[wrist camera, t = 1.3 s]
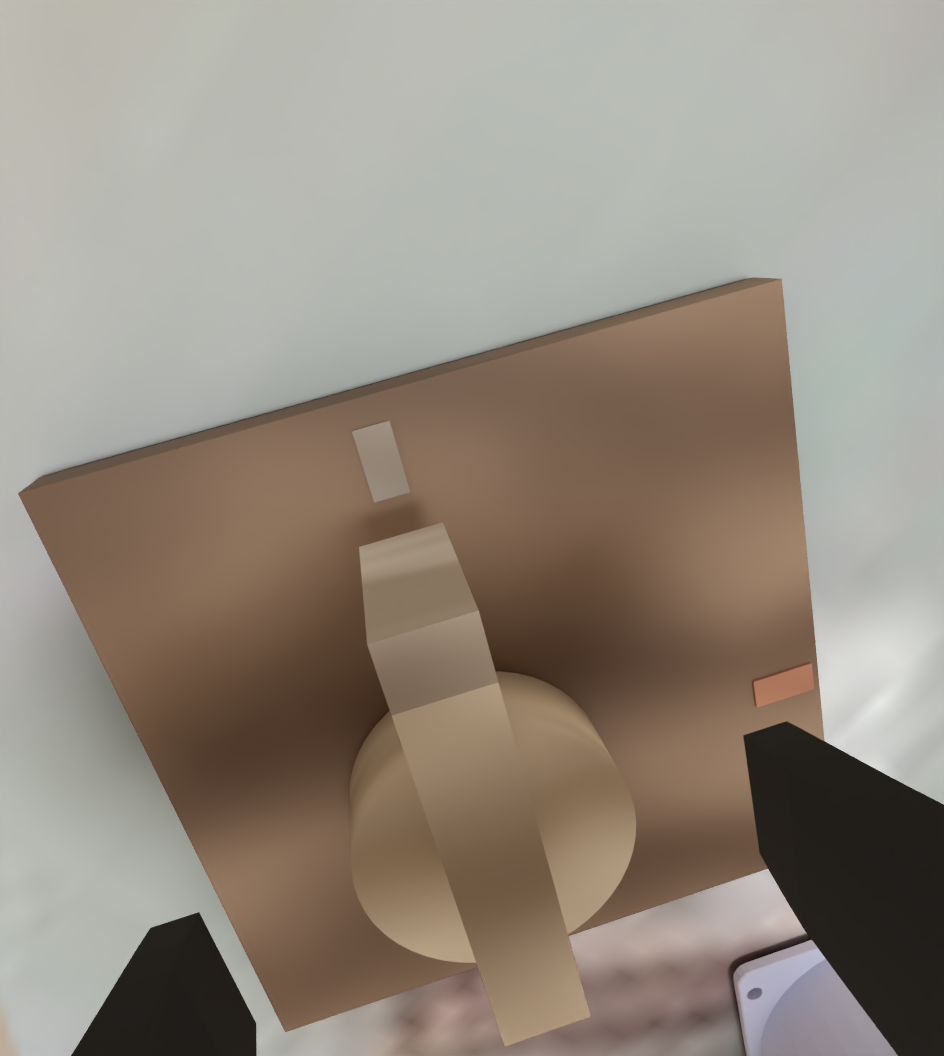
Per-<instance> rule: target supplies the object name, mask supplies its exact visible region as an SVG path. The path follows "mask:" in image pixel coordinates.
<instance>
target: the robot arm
mask: <svg viewBox="0 0 944 1056" xmlns="http://www.w3.org/2000/svg"><path fill="white" fill-rule="evenodd" d="M743 738H744V745H745V752H746V759H747V767H748V774H749V781H750V788H751V795H752V802H753V810H754V817H755V824H756V831H757V838H758V845H759V853H760V855H761V857H762V859H763V860H764V862H765V864H766V866H767V867H768V869H769V871H770V872H771V874H772V876H773V878H774V879H775V881H776V883H777V885H778V886H779V888H780V890H781V892H782V893H783V895H784V897H785V898H786V900H787V902H788V903H789V905H790V907H791V908H792V910H793V912H794V913H795V915H796V917H797V918H798V920H799V922H800V923H801V925H802V927H803V928H804V930H805V931H806V932H807V934H808V935H809V936H810V938H811V939H812V940H809V941H807V942H804V943H801V944H798V945H795V946H792V947H789V948H786V949H784V950H781V951H778V952H775V953H772V954H769V955H766V956H763V957H761V958H758V959H755V960H752V961H749V962H746V963H744V964H742V965H740V966H739V967H738V968H737V969H736V971H735V973H734V977H733V980H734V986H735V992H736V998H737V1003H738V1009H739V1015H740V1021H741V1027H742V1033H743V1039H744V1045H745V1050H746V1056H944V805H943V804H941V803H939V802H938V801H936V800H934V799H932V798H930V797H928V796H926V795H924V794H922V793H920V792H918V791H916V790H914V789H912V788H910V787H908V786H906V785H904V784H903V783H901V782H899V781H897V780H895V779H893V778H891V777H889V776H887V775H885V774H884V773H882V772H880V771H878V770H876V769H874V768H872V767H871V766H869V765H867V764H865V763H863V762H861V761H859V760H858V759H856V758H854V757H852V756H850V755H848V754H847V753H845V752H843V751H841V750H839V749H837V748H836V747H834V746H832V745H830V744H828V743H826V742H825V741H823V740H821V739H819V738H817V737H816V736H814V735H812V734H810V733H808V732H806V731H804V730H803V729H801V728H799V727H797V726H795V725H793V724H791V723H789V722H788V721H786V722H782V723H779V724H776V725H773V726H770V727H767V728H764V729H761V730H758V731H755V732H752V733H749V734H746V735H743ZM71 1056H256V1022H255V1020H254V1019H253V1017H252V1015H251V1013H250V1011H249V1009H248V1007H247V1005H246V1003H245V1001H244V999H243V997H242V995H241V993H240V991H239V989H238V987H237V985H236V983H235V982H234V980H233V978H232V976H231V974H230V972H229V970H228V968H227V966H226V964H225V962H224V960H223V958H222V956H221V954H220V952H219V950H218V948H217V947H216V945H215V943H214V941H213V939H212V937H211V935H210V933H209V931H208V929H207V927H206V925H205V923H204V921H203V919H202V917H201V915H200V913H199V912H198V913H195V914H192V915H189V916H186V917H183V918H180V919H177V920H174V921H171V922H168V923H165V924H162V925H158V926H155V927H152V928H150V930H149V931H148V933H147V934H146V936H145V937H144V939H143V940H142V942H141V944H140V945H139V947H138V948H137V950H136V951H135V953H134V955H133V956H132V958H131V960H130V961H129V963H128V964H127V966H126V968H125V969H124V971H123V973H122V974H121V976H120V977H119V979H118V981H117V982H116V984H115V986H114V987H113V989H112V990H111V992H110V994H109V995H108V997H107V999H106V1000H105V1002H104V1004H103V1005H102V1007H101V1008H100V1010H99V1012H98V1013H97V1015H96V1017H95V1018H94V1020H93V1021H92V1023H91V1025H90V1026H89V1028H88V1030H87V1031H86V1033H85V1034H84V1036H83V1038H82V1039H81V1041H80V1042H79V1044H78V1046H77V1047H76V1049H75V1050H74V1052H73V1054H72V1055H71Z"/></svg>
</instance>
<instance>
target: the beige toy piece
mask: <svg viewBox="0 0 944 1056" xmlns="http://www.w3.org/2000/svg"><path fill="white" fill-rule="evenodd" d="M359 552H360V564H361V576H362V589H363V601H364V613H365V625H366V637H367V646H368V649H369V651H370V654H371V657H372V660H373V663H374V666H375V669H376V672H377V675H378V678H379V681H380V684H381V686H382V689H383V692H384V695H385V698H386V701H387V704H388V707H389V710H390V711H389V712H388V713H387V714H386V715H385V716H384V717H383V718H382V719H381V720H380V721H379V722H378V723H377V724H376V725H375V727H374V728H373V729H372V731H371V732H370V734H369V735H368V737H367V738H366V739H365V741H364V743H363V745H362V747H361V749H360V751H359V753H358V755H357V758H356V761H355V763H354V766H353V770H352V775H351V780H350V795H349V800H350V838H351V870H352V877H353V884H354V887H355V890H356V894H357V897H358V899H359V901H360V903H361V905H362V907H363V909H364V911H365V912H366V914H367V915H368V917H369V918H370V919H371V921H372V922H373V923H374V924H375V925H376V926H377V927H378V928H379V929H380V930H381V931H382V932H383V933H384V934H385V935H386V936H388V937H389V938H390V939H392V940H393V941H395V942H396V943H397V944H399V945H401V946H403V947H405V948H407V949H409V950H411V951H413V952H416V953H418V954H421V955H424V956H427V957H431V958H435V959H439V960H443V961H451V962H459V963H477V966H478V969H479V972H480V975H481V978H482V981H483V984H484V987H485V990H486V993H487V996H488V998H489V1001H490V1004H491V1007H492V1010H493V1013H494V1016H495V1019H496V1022H497V1025H498V1028H499V1031H500V1033H501V1036H502V1039H503V1042H504V1045H505V1046H508V1045H511V1044H514V1043H517V1042H519V1041H522V1040H525V1039H528V1038H531V1037H534V1036H537V1035H540V1034H542V1033H545V1032H548V1031H551V1030H554V1029H557V1028H560V1027H563V1026H565V1025H568V1024H571V1023H574V1022H577V1021H580V1020H583V1019H586V1018H588V1017H590V1013H589V1009H588V1006H587V1002H586V998H585V995H584V991H583V987H582V984H581V980H580V977H579V973H578V969H577V966H576V962H575V958H574V955H573V951H572V948H571V944H570V940H569V937H568V934H569V933H571V932H572V931H574V930H576V929H577V928H578V927H579V926H581V925H582V924H583V923H585V922H586V921H587V920H588V919H590V918H591V917H592V916H593V915H594V914H595V913H596V912H597V911H598V910H599V909H600V908H601V907H602V906H603V905H604V903H605V902H606V901H607V900H608V899H609V897H610V896H611V895H612V894H613V892H614V891H615V889H616V887H617V886H618V884H619V883H620V881H621V880H622V878H623V876H624V873H625V871H626V869H627V867H628V865H629V862H630V859H631V856H632V853H633V849H634V843H635V838H636V816H635V808H634V804H633V801H632V798H631V794H630V792H629V790H628V788H627V786H626V784H625V782H624V780H623V778H622V776H621V774H620V772H619V770H618V769H617V767H616V765H615V763H614V761H613V760H612V758H611V756H610V754H609V752H608V751H607V749H606V747H605V745H604V743H603V741H602V740H601V738H600V736H599V734H598V732H597V731H596V729H595V727H594V725H593V723H592V722H591V720H590V719H589V717H588V716H587V714H586V713H585V712H584V710H583V709H582V708H581V707H580V706H579V705H578V704H577V703H576V702H575V701H574V700H573V699H572V698H571V697H570V696H568V695H567V694H566V693H564V692H563V691H562V690H560V689H558V688H556V687H555V686H553V685H551V684H549V683H547V682H544V681H542V680H539V679H537V678H534V677H531V676H526V675H522V674H518V673H510V672H501V671H495V668H494V664H493V661H492V657H491V653H490V650H489V646H488V643H487V639H486V635H485V632H484V628H483V624H482V621H481V617H480V614H479V610H478V608H477V605H476V603H475V600H474V598H473V595H472V593H471V590H470V588H469V586H468V583H467V581H466V578H465V576H464V573H463V571H462V568H461V566H460V563H459V561H458V558H457V556H456V554H455V551H454V549H453V546H452V544H451V541H450V539H449V536H448V534H447V531H446V529H445V526H444V524H443V522H442V523H439V524H435V525H432V526H429V527H425V528H422V529H418V530H415V531H412V532H408V533H405V534H402V535H398V536H395V537H391V538H388V539H385V540H381V541H378V542H374V543H371V544H368V545H364V546H361V547H359Z"/></svg>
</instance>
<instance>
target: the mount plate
mask: <svg viewBox="0 0 944 1056" xmlns="http://www.w3.org/2000/svg"><path fill="white" fill-rule="evenodd" d="M18 494H19V496H20V498H21V500H22V502H23V504H24V506H25V508H26V510H27V512H28V514H29V516H30V518H31V520H32V522H33V524H34V527H35V529H36V531H37V533H38V535H39V537H40V539H41V541H42V543H43V545H44V547H45V549H46V551H47V553H48V555H49V557H50V559H51V561H52V563H53V565H54V567H55V569H56V571H57V573H58V575H59V577H60V579H61V581H62V583H63V585H64V587H65V589H66V591H67V593H68V595H69V597H70V599H71V601H72V603H73V605H74V607H75V609H76V611H77V613H78V615H79V617H80V619H81V621H82V623H83V625H84V627H85V629H86V631H87V633H88V635H89V637H90V639H91V641H92V643H93V645H94V647H95V650H96V652H97V654H98V656H99V658H100V660H101V662H102V664H103V666H104V668H105V670H106V672H107V674H108V676H109V678H110V680H111V682H112V684H113V686H114V688H115V690H116V692H117V694H118V696H119V698H120V700H121V702H122V704H123V706H124V708H125V710H126V712H127V714H128V716H129V718H130V720H131V722H132V724H133V726H134V728H135V730H136V732H137V734H138V736H139V738H140V740H141V742H142V744H143V746H144V748H145V750H146V752H147V754H148V756H149V758H150V760H151V762H152V764H153V766H154V768H155V770H156V772H157V775H158V777H159V779H160V781H161V783H162V785H163V787H164V789H165V791H166V793H167V795H168V797H169V799H170V801H171V803H172V805H173V807H174V809H175V811H176V813H177V815H178V817H179V819H180V821H181V823H182V825H183V827H184V829H185V831H186V833H187V835H188V837H189V839H190V841H191V843H192V845H193V847H194V849H195V851H196V853H197V855H198V857H199V859H200V861H201V863H202V865H203V867H204V869H205V871H206V873H207V875H208V877H209V879H210V881H211V883H212V885H213V887H214V889H215V891H216V893H217V895H218V897H219V900H220V902H221V904H222V906H223V908H224V910H225V912H226V914H227V916H228V918H229V920H230V922H231V924H232V926H233V928H234V930H235V932H236V934H237V936H238V938H239V940H240V942H241V944H242V946H243V948H244V950H245V952H246V954H247V956H248V958H249V960H250V962H251V964H252V966H253V968H254V970H255V972H256V974H257V976H258V978H259V980H260V982H261V984H262V986H263V988H264V990H265V992H266V994H267V996H268V998H269V1000H270V1002H271V1004H272V1006H273V1008H274V1010H275V1012H276V1014H277V1016H278V1018H279V1020H280V1023H281V1025H282V1027H283V1029H284V1031H285V1032H287V1031H290V1030H293V1029H296V1028H299V1027H302V1026H305V1025H308V1024H311V1023H314V1022H317V1021H320V1020H323V1019H325V1018H328V1017H331V1016H334V1015H337V1014H340V1013H343V1012H346V1011H349V1010H352V1009H355V1008H358V1007H361V1006H364V1005H367V1004H370V1003H373V1002H376V1001H379V1000H381V999H384V998H387V997H390V996H393V995H396V994H399V993H402V992H405V991H408V990H411V989H414V988H417V987H420V986H423V985H426V984H429V983H432V982H435V981H437V980H440V979H443V978H446V977H449V976H452V975H455V974H458V973H461V972H464V971H467V970H470V969H473V968H476V967H478V966H477V963H459V962H451V961H443V960H439V959H435V958H431V957H427V956H424V955H421V954H418V953H416V952H413V951H411V950H409V949H407V948H405V947H403V946H401V945H399V944H397V943H396V942H395V941H393V940H392V939H390V938H389V937H388V936H386V935H385V934H384V933H383V932H382V931H381V930H380V929H379V928H378V927H377V926H376V925H375V924H374V923H373V922H372V921H371V919H370V918H369V917H368V915H367V914H366V912H365V911H364V909H363V907H362V905H361V903H360V901H359V899H358V897H357V894H356V890H355V887H354V884H353V877H352V870H351V838H350V800H349V795H350V780H351V775H352V770H353V766H354V763H355V761H356V758H357V755H358V753H359V751H360V749H361V747H362V745H363V743H364V741H365V739H366V738H367V737H368V735H369V734H370V732H371V731H372V729H373V728H374V727H375V725H376V724H377V723H378V722H379V721H380V720H381V719H382V718H383V717H384V716H385V715H386V714H387V713H388V712H389V711H390V710H389V707H388V704H387V701H386V698H385V695H384V692H383V689H382V686H381V684H380V681H379V678H378V675H377V672H376V669H375V666H374V663H373V660H372V657H371V654H370V651H369V649H368V646H367V637H366V625H365V613H364V601H363V589H362V576H361V564H360V552H359V547H361V546H364V545H368V544H371V543H374V542H378V541H381V540H385V539H388V538H391V537H395V536H398V535H402V534H405V533H408V532H412V531H415V530H418V529H422V528H425V527H429V526H432V525H435V524H439V523H442V522H443V524H444V526H445V529H446V531H447V534H448V536H449V539H450V541H451V544H452V546H453V549H454V551H455V554H456V556H457V558H458V561H459V563H460V566H461V568H462V571H463V573H464V576H465V578H466V581H467V583H468V586H469V588H470V590H471V593H472V595H473V598H474V600H475V603H476V605H477V608H478V610H479V614H480V617H481V621H482V624H483V628H484V632H485V635H486V639H487V643H488V646H489V650H490V653H491V657H492V661H493V664H494V668H495V671H501V672H510V673H518V674H522V675H526V676H531V677H534V678H537V679H539V680H542V681H544V682H547V683H549V684H551V685H553V686H555V687H556V688H558V689H560V690H562V691H563V692H564V693H566V694H567V695H568V696H570V697H571V698H572V699H573V700H574V701H575V702H576V703H577V704H578V705H579V706H580V707H581V708H582V709H583V710H584V712H585V713H586V714H587V716H588V717H589V719H590V720H591V722H592V723H593V725H594V727H595V729H596V731H597V732H598V734H599V736H600V738H601V740H602V741H603V743H604V745H605V747H606V749H607V751H608V752H609V754H610V756H611V758H612V760H613V761H614V763H615V765H616V767H617V769H618V770H619V772H620V774H621V776H622V778H623V780H624V782H625V784H626V786H627V788H628V790H629V792H630V794H631V798H632V801H633V804H634V808H635V816H636V838H635V843H634V849H633V853H632V856H631V859H630V862H629V865H628V867H627V869H626V871H625V873H624V876H623V878H622V880H621V881H620V883H619V884H618V886H617V887H616V889H615V891H614V892H613V894H612V895H611V896H610V897H609V899H608V900H607V901H606V902H605V903H604V905H603V906H602V907H601V908H600V909H599V910H598V911H597V912H596V913H595V914H594V915H593V916H592V917H591V918H590V919H588V920H587V921H586V922H585V923H583V924H582V925H581V926H579V927H578V928H577V929H576V930H574V931H572V932H571V933H569V934H568V936H570V935H573V934H576V933H579V932H582V931H585V930H588V929H591V928H594V927H597V926H600V925H602V924H605V923H608V922H611V921H614V920H617V919H620V918H623V917H626V916H629V915H632V914H635V913H638V912H641V911H644V910H647V909H650V908H653V907H656V906H658V905H661V904H664V903H667V902H670V901H673V900H676V899H679V898H682V897H685V896H688V895H691V894H694V893H697V892H700V891H703V890H706V889H709V888H712V887H714V886H717V885H720V884H723V883H726V882H729V881H732V880H735V879H738V878H741V877H744V876H747V875H750V874H753V873H756V872H759V871H762V870H765V869H768V867H767V866H766V864H765V862H764V860H763V859H762V857H761V855H760V853H759V845H758V838H757V831H756V824H755V817H754V810H753V802H752V795H751V788H750V781H749V774H748V767H747V759H746V752H745V745H744V738H743V735H746V734H749V733H752V732H755V731H758V730H761V729H764V728H767V727H770V726H773V725H776V724H779V723H782V722H786V721H788V722H789V723H791V724H793V725H795V726H797V727H799V728H801V729H803V730H804V731H806V732H808V733H810V734H812V735H814V736H816V737H817V738H819V739H821V740H823V741H824V732H823V721H822V711H821V700H820V689H819V678H818V667H817V657H816V646H815V635H814V624H813V614H812V603H811V592H810V581H809V570H808V560H807V549H806V538H805V527H804V516H803V506H802V495H801V484H800V473H799V462H798V452H797V441H796V430H795V419H794V408H793V398H792V387H791V376H790V365H789V354H788V344H787V333H786V322H785V311H784V300H783V290H782V279H772V278H750V279H746V280H742V281H739V282H735V283H732V284H728V285H725V286H721V287H717V288H714V289H710V290H707V291H703V292H700V293H696V294H692V295H689V296H685V297H682V298H678V299H675V300H671V301H667V302H664V303H660V304H657V305H653V306H650V307H646V308H642V309H639V310H635V311H632V312H628V313H625V314H621V315H617V316H614V317H610V318H607V319H603V320H600V321H596V322H592V323H589V324H585V325H582V326H578V327H575V328H571V329H567V330H564V331H560V332H557V333H553V334H550V335H546V336H542V337H539V338H535V339H532V340H528V341H525V342H521V343H517V344H514V345H510V346H507V347H503V348H500V349H496V350H492V351H489V352H485V353H482V354H478V355H475V356H471V357H467V358H464V359H460V360H457V361H453V362H450V363H446V364H442V365H439V366H435V367H432V368H428V369H425V370H421V371H417V372H414V373H410V374H407V375H403V376H400V377H396V378H392V379H389V380H385V381H382V382H378V383H375V384H371V385H368V386H364V387H360V388H357V389H353V390H350V391H346V392H343V393H339V394H335V395H332V396H328V397H325V398H321V399H318V400H314V401H310V402H307V403H303V404H300V405H296V406H293V407H289V408H285V409H282V410H278V411H275V412H271V413H268V414H264V415H260V416H257V417H253V418H250V419H246V420H243V421H239V422H235V423H232V424H228V425H225V426H221V427H218V428H214V429H210V430H207V431H203V432H200V433H196V434H193V435H189V436H185V437H182V438H178V439H175V440H171V441H168V442H164V443H160V444H157V445H153V446H150V447H146V448H143V449H139V450H135V451H132V452H128V453H125V454H121V455H118V456H114V457H110V458H107V459H103V460H100V461H96V462H93V463H89V464H85V465H82V466H78V467H75V468H71V469H68V470H64V471H60V472H57V473H53V474H50V475H46V476H43V477H40V478H38V479H37V480H36V481H34V482H33V483H32V484H30V485H29V486H28V487H26V488H25V489H24V490H22V491H21V492H19V493H18Z"/></svg>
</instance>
